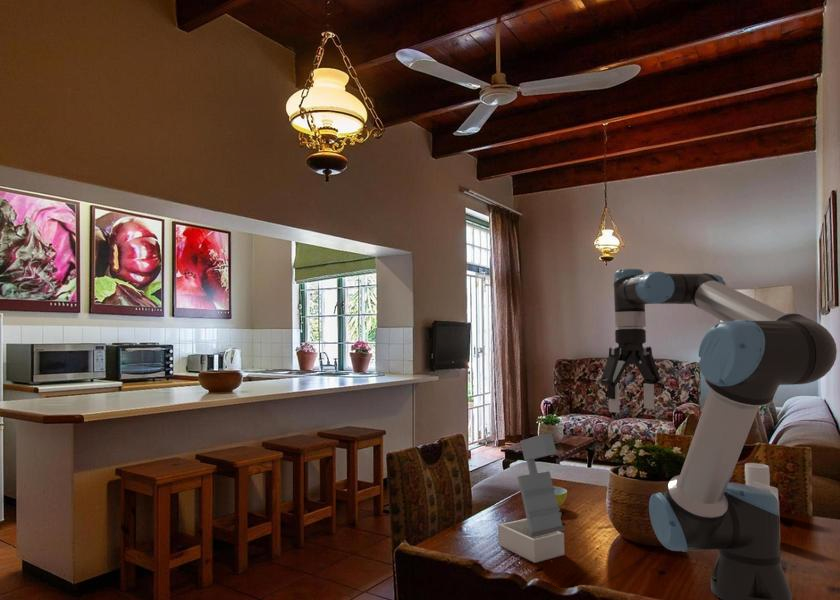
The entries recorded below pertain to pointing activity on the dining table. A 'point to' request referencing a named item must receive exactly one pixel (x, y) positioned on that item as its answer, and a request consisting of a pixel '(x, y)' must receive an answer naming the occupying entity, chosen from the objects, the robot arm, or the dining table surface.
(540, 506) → the grey stepped piece
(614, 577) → the dining table surface
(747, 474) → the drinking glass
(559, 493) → the bowl
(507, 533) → the tub
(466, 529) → the dining table surface
